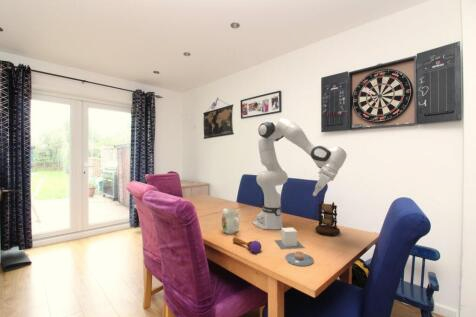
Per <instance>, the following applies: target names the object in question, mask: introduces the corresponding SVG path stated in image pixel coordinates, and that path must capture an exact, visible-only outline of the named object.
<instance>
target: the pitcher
mask: <svg viewBox="0 0 476 317" xmlns="http://www.w3.org/2000/svg"><path fill="white" fill-rule="evenodd" d="M221 213H222V217H221V226H222V230H223V231H224V233H225V234H228V235H232V234H235V233H236V232H237V231H238V230H239V229H240V219H239V216H238V215H239V211H238V210H236V209H230V208H223V209H222V211H221Z"/></svg>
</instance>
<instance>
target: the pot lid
mask: <svg viewBox="0 0 476 317" xmlns="http://www.w3.org/2000/svg"><path fill="white" fill-rule="evenodd" d="M284 258H285V260H286V262H287V263H288V264H289V265H290V264H291V265H292V266H296V267H309V266H311V265H313V264H314V261H315V260H314V258H313V257H312V256H311V255H309V254H306V253H304V252H303V251H295V252H290V253H287V254H286V255H285V257H284Z"/></svg>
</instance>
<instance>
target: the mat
mask: <svg viewBox="0 0 476 317" xmlns="http://www.w3.org/2000/svg"><path fill="white" fill-rule="evenodd" d="M274 242H275V243H276V245H277V246H278V247H279V249H280V250H295V249H297V250H298V249H300V250H301V249H306V247H304V246H305V245H303V244H301V242H300V241H298V240H297V246H290V247H285V246H284V245H283V243H282V242H281V239H277V240H276V239H274Z"/></svg>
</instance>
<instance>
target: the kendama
mask: <svg viewBox="0 0 476 317" xmlns="http://www.w3.org/2000/svg"><path fill="white" fill-rule="evenodd" d="M232 242H233V244H239V245H245V246H246V247H247V248H248V249H249V250H250V251H251V252H252V253H254V254H257V253H260V252H261V250H262V244H261V242H260V241H259V240H251V241H248V242H246V241H245V240H243V239H240V238H239V237H237V236H235V237H234V236H233V238H232Z"/></svg>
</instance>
